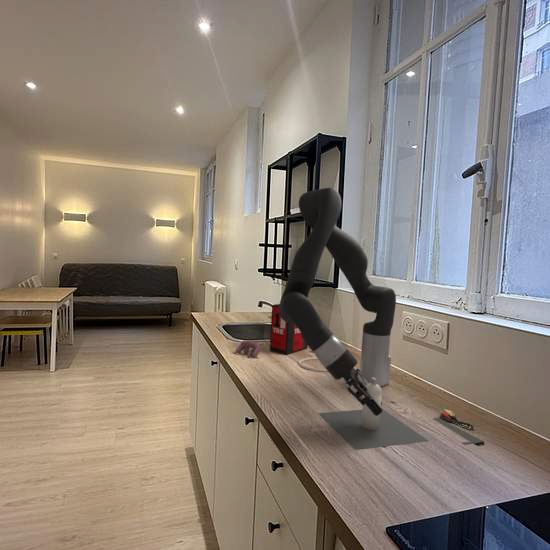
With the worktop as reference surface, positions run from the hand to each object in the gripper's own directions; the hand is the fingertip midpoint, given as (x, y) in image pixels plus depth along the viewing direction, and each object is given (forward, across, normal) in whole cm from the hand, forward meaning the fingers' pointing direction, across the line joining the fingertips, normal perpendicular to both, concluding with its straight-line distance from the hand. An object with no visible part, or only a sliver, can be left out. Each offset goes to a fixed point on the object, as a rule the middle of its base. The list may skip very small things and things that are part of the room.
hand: (379, 409), depth 102 cm
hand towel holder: (-10, +52, +18) cm, 56 cm away
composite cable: (+18, +13, -10) cm, 25 cm away
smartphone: (+17, +6, -9) cm, 20 cm away
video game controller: (-32, +52, +40) cm, 74 cm away
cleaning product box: (-23, +68, +31) cm, 78 cm away
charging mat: (+2, 0, +5) cm, 6 cm away
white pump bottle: (+2, 0, +5) cm, 5 cm away
